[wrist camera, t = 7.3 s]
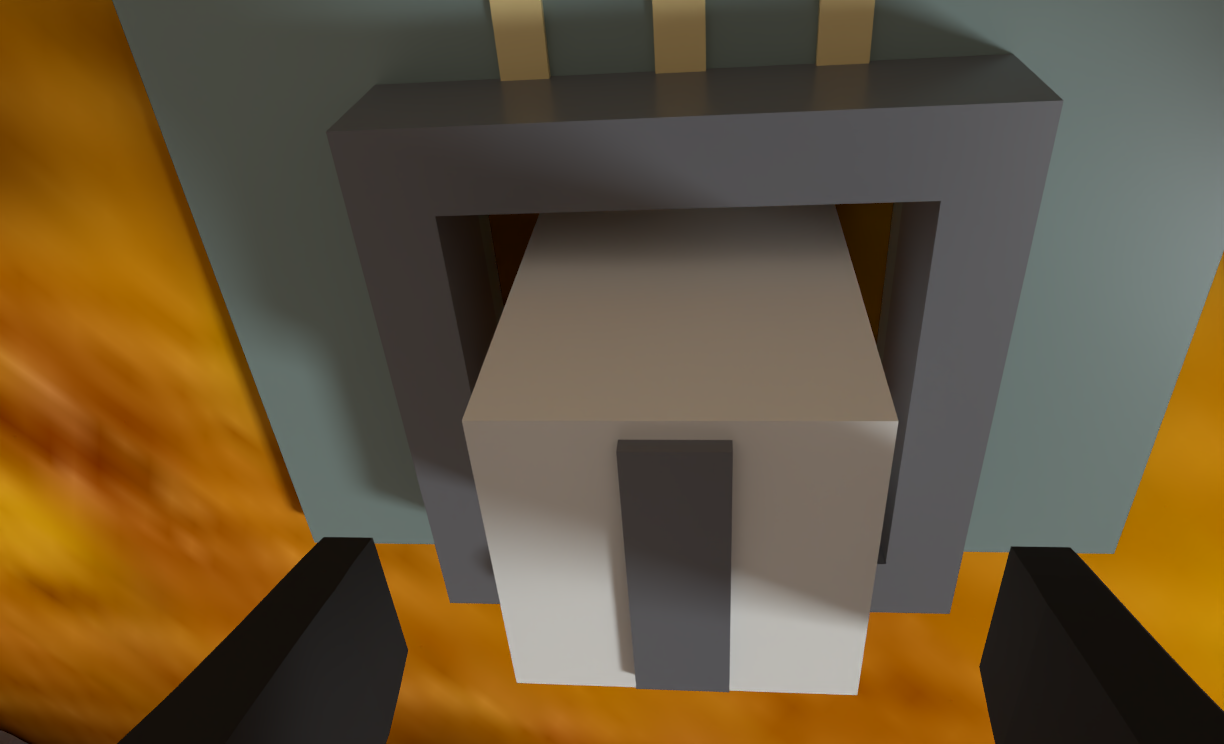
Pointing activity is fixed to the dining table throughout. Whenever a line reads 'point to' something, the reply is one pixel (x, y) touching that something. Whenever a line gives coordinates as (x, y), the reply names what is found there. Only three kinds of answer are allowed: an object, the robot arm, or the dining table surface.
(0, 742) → the coffee pot
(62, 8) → the dining table surface
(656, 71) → the header socket
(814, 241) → the plug
